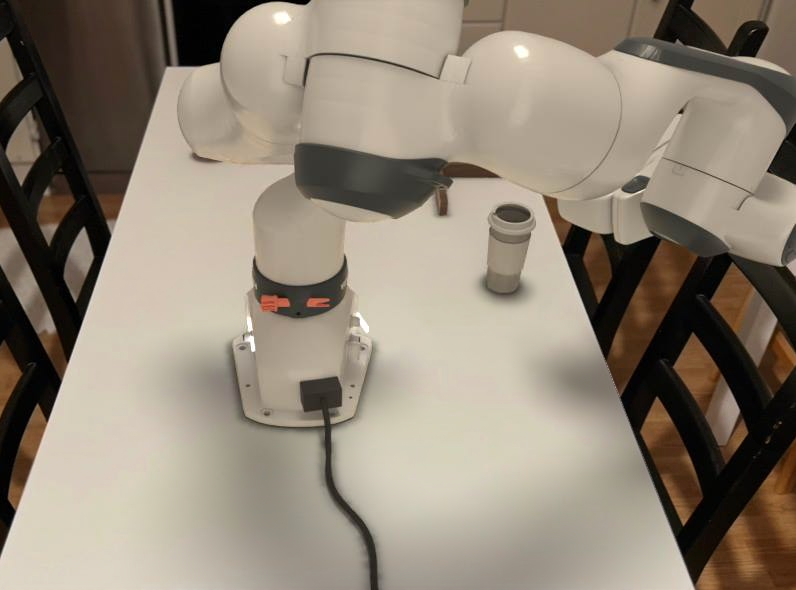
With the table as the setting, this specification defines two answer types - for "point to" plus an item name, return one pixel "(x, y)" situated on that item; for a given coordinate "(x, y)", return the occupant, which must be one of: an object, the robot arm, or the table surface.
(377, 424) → the table surface
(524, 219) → the cup
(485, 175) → the corner guide
